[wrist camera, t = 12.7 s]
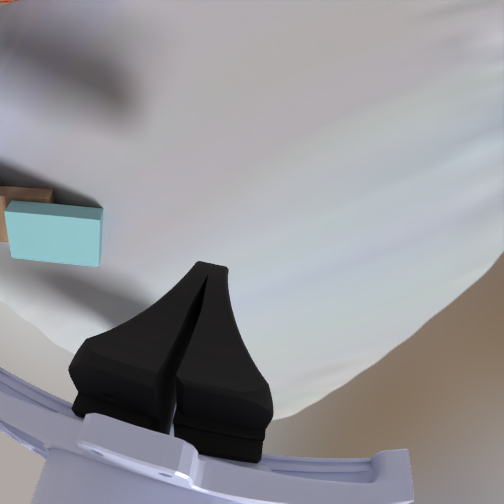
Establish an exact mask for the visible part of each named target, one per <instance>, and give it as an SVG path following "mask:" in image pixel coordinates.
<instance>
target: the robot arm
mask: <svg viewBox="0 0 504 504" xmlns="http://www.w3.org/2000/svg"><path fill="white" fill-rule="evenodd" d="M228 271H229V269H228V268H227V267H225V266H220V265H215V264H211V263H206V262H201V261H198V262H196V263H195V265H194V266H193V267H192V268H191V270H190V271H189V272H188V273H187V274H186V275H185V276H184V277H183V278H182V279H181V280H180V281H179V282H178V283H177V284H176V285H175V286H174V287H173V288H172V289H171V290H170V291H169V292H168V293H166V294H165V295H164V296H163V297H162V298H161V299H159V300H158V301H157V302H156V303H154V304H153V305H152V306H150V307H149V308H148V309H146V310H145V311H143V312H142V313H140V314H139V315H137V316H135V317H134V318H132V319H130V320H129V321H127V322H125V323H123V324H121V325H119V326H117V327H115V328H113V329H111V330H109V331H107V332H104V333H101V334H99V335H96V336H93V337H91V338H88V339H86V340H85V341H84V343H83V344H82V345H81V347H80V348H79V349H78V351H77V353H76V354H75V356H74V358H73V360H72V362H71V364H70V366H69V370H68V371H69V374H70V377H71V378H72V381H73V383H74V385H75V387H76V389H77V390H78V395H77V397H76V399H75V401H74V404H72V403H70V402H68V401H65V400H63V399H61V398H59V397H56V396H54V395H52V394H50V393H48V392H46V391H44V390H42V389H40V388H38V387H36V386H34V385H32V384H30V383H28V382H26V381H24V380H22V379H20V378H19V377H17V376H15V375H13V374H11V373H10V372H8V371H6V370H4V369H3V368H1V367H0V430H1V431H2V432H4V433H5V434H7V435H8V436H10V437H11V438H13V439H14V440H16V441H17V442H19V443H20V444H22V445H23V446H25V447H27V448H28V449H30V450H31V451H33V452H35V453H36V454H38V455H40V456H42V457H44V458H45V459H46V461H45V464H44V467H43V469H42V472H41V475H40V478H39V481H38V484H37V487H36V489H35V492H34V495H33V498H32V501H31V504H408V503H411V502H413V501H414V491H413V482H412V473H411V466H410V459H409V452H408V450H407V449H398V450H385V451H381V452H378V453H376V454H375V455H374V456H373V457H372V458H351V459H350V458H349V459H348V458H344V459H343V458H340V459H339V458H337V459H336V458H331V459H330V458H305V457H290V456H278V455H268V454H262V446H263V441H264V439H265V429H266V428H267V426H268V425H269V423H270V422H271V420H272V418H273V402H272V396H271V392H270V388H269V384H268V383H267V382H266V380H265V379H264V377H263V376H262V374H261V373H260V371H259V370H258V368H257V367H256V365H255V363H254V362H253V360H252V358H251V356H250V354H249V352H248V350H247V348H246V347H245V345H244V342H243V340H242V338H241V335H240V333H239V330H238V327H237V324H236V321H235V318H234V315H233V311H232V307H231V302H230V297H229V290H228Z"/></svg>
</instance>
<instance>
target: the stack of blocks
mask: <svg viewBox="0 0 504 504" xmlns="http://www.w3.org/2000/svg"><path fill="white" fill-rule="evenodd" d="M13 1H17V0H0V6H2V5H5V4H9V3H12V2H13Z"/></svg>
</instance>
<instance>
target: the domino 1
mask: <svg viewBox="0 0 504 504" xmlns="http://www.w3.org/2000/svg"><path fill="white" fill-rule="evenodd" d="M12 200H14V201H26V202H38V203H50V204H53V189H44V188H26V187H5V186H0V242H9V240H8V234H7V228H6V221H5V213H4V211H5V209H6V208H7V206H8V205H9V203H10V202H11V201H12Z"/></svg>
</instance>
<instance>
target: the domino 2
mask: <svg viewBox="0 0 504 504" xmlns="http://www.w3.org/2000/svg"><path fill="white" fill-rule="evenodd" d="M4 213H5V221H6V228H7V234H8V240H9V246H10V251H11V256H12V258H17V259H26V260H34V261H44V262H53V263H62V264H72V265H82V266H92V267H99V264H100V258H101V240H102V219H103V209H102V208H92V207H82V206H72V205H61V204H50V203H38V202H26V201H14V200H12V201H11V202H10V203H9V205H8V206H7V208H6V209H5V211H4Z"/></svg>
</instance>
